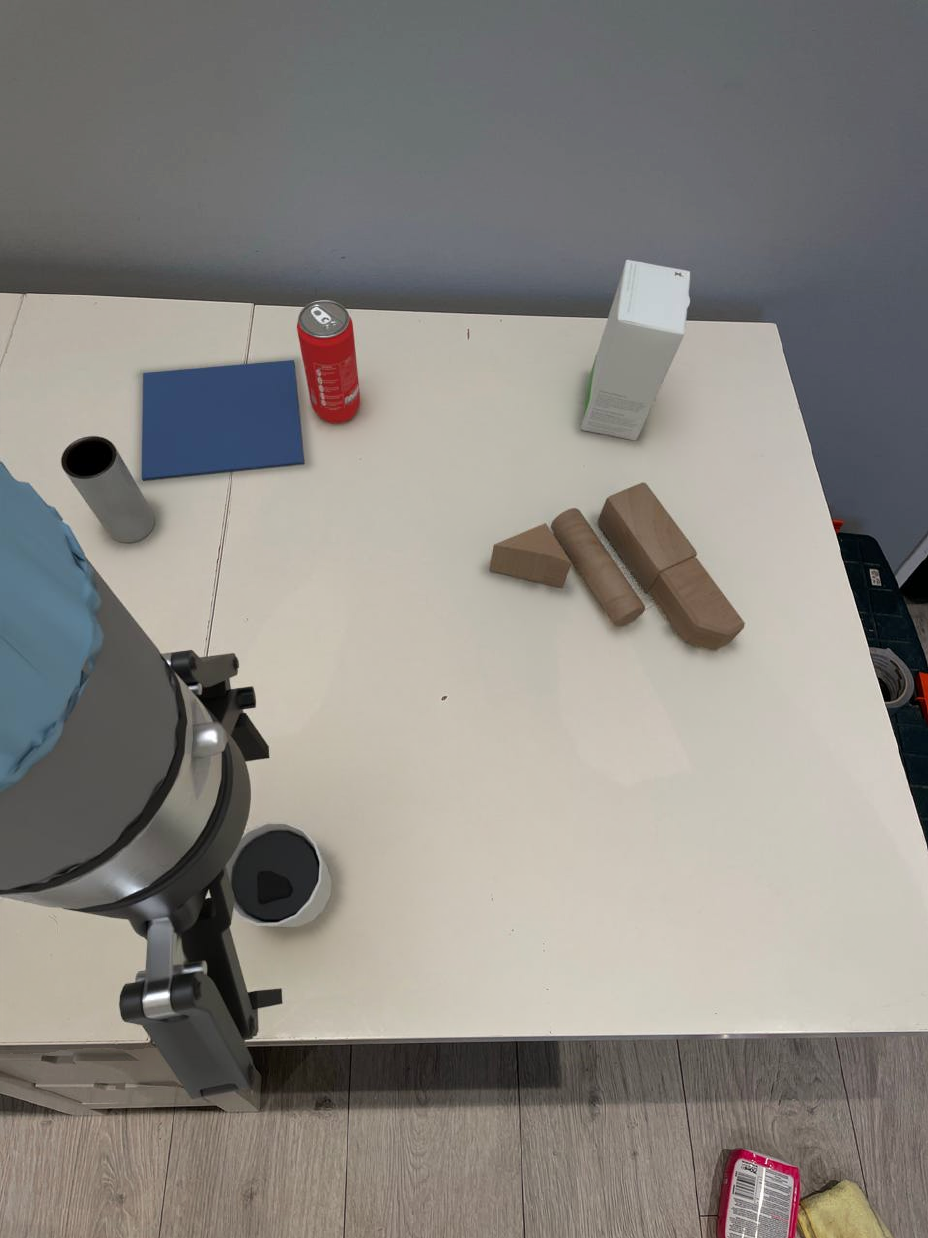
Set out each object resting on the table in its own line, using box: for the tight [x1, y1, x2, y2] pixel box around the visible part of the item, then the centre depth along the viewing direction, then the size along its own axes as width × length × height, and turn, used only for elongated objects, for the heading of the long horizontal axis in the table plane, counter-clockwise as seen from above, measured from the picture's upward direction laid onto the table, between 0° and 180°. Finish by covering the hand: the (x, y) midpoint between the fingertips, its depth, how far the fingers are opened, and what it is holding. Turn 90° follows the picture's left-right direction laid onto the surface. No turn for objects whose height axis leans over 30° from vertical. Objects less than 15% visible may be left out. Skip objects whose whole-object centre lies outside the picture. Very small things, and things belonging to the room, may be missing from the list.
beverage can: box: [296, 299, 361, 425], centre depth 74 cm, size 5×5×12 cm
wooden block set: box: [488, 481, 746, 651], centre depth 68 cm, size 17×6×18 cm
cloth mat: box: [141, 359, 305, 481], centre depth 77 cm, size 16×14×1 cm
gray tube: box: [60, 435, 156, 544], centre depth 67 cm, size 4×4×10 cm
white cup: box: [226, 821, 332, 928], centre depth 53 cm, size 7×7×10 cm
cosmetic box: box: [580, 259, 691, 441], centre depth 74 cm, size 8×7×16 cm
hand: (251, 869), depth 42 cm, fingers open, 13 cm apart
